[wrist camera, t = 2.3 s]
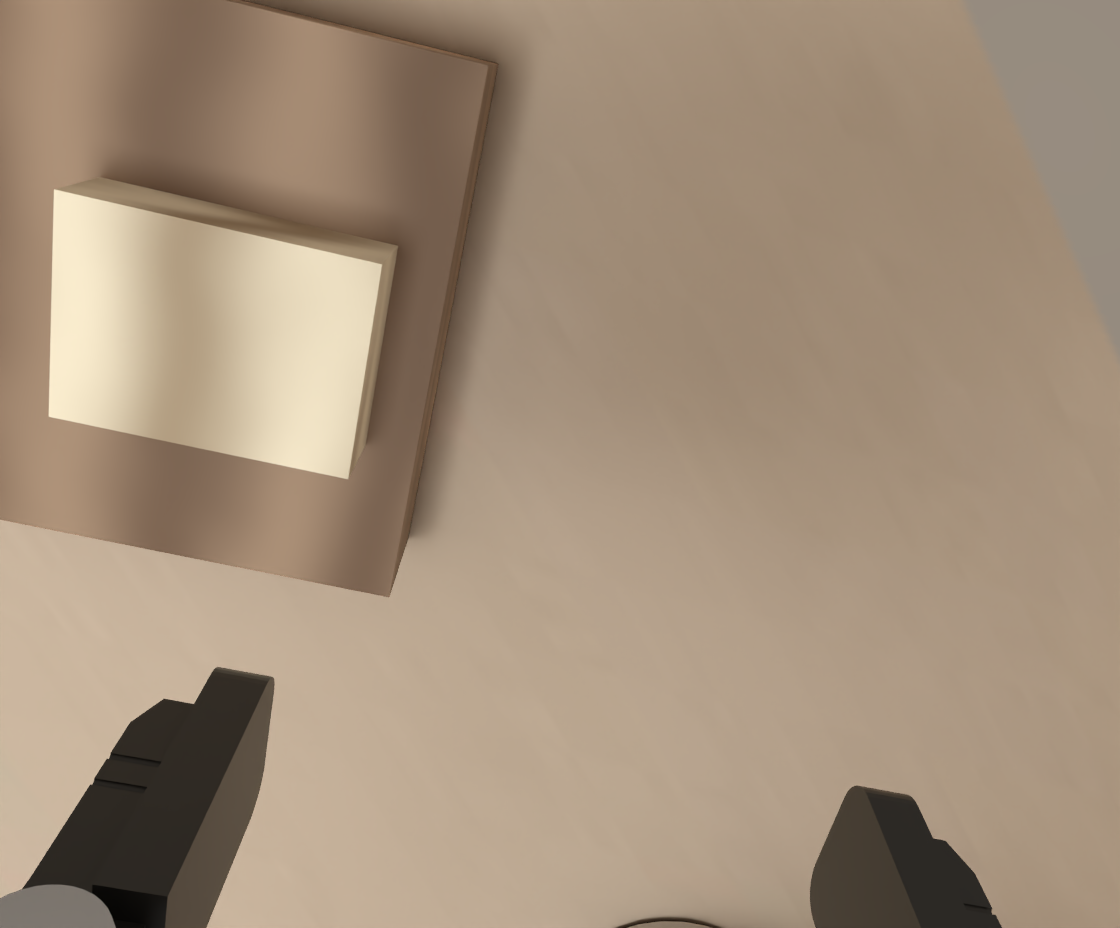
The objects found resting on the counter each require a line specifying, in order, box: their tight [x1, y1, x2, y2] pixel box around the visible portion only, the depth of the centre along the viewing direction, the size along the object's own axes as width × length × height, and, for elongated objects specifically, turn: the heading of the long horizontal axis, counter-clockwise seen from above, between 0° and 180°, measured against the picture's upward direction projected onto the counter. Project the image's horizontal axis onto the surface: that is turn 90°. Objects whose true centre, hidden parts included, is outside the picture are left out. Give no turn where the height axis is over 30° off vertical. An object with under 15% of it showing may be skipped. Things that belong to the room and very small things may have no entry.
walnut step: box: [0, 0, 498, 597], centre depth 29 cm, size 14×16×4 cm
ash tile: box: [49, 177, 398, 479], centre depth 26 cm, size 8×6×2 cm
